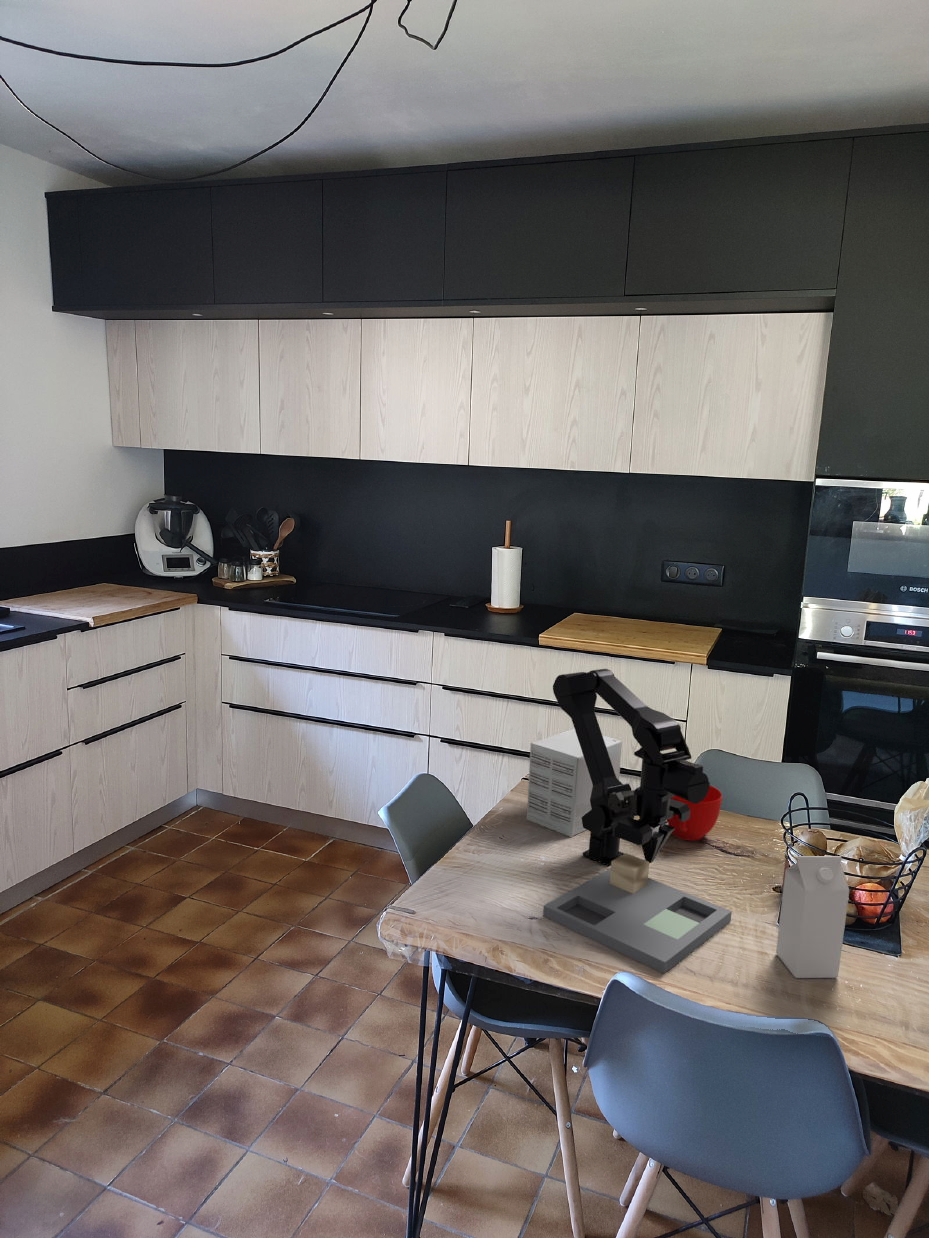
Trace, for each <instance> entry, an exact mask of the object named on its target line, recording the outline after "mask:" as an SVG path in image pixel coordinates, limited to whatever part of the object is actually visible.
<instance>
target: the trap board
mask: <svg viewBox="0 0 929 1238" xmlns="http://www.w3.org/2000/svg"><path fill="white" fill-rule="evenodd" d="M610 874H611V867H610V868H608V869H606V870H604V871H602V872H601V873H599V874H598V875H595V876H594V877H592V878H590V879H589V880H586V881H585V882H583V883H581V884H580V885H578V886H576V887H575V888H572V889H571V890H568V891H567V892H565V893H563V894H562V895H560V896H558V897H557V898H555V899H552V900H551V901H550V902H547V903H546V904H544V905H543V912H542V916H543V918H546V919H548V920H550V921H552V922H555V923H557V924H559V925H561V926H562V927H565V928H567V929H569V930H571V931H574V932H576V933H578V934H580V935H582V936H584V937H586V938H588V939H589V940H592V941H594V942H596V943H599V944H600V945H603V946H605V947H607V948H608V949H609V948H610V949H611V950H613V951H615V952H617V953H620V954H622V955H623V956H625V957H628V958H630V959H632V960H634V961H637V963H641V964H642V965H645V966H646V967H648V968H651V969H653V970H655V971H656V972H657V971H658V972H659V973H661V974H666V973H667V972H669V970H671V969H672V968H673V967H675V966H676V965H678V964H679V963H680V962H682V960H684V959H685V958H686V957H687V956H689V955H690V954H691V953H693V952H694V951H695V950H697V949H698V948H699V947H700V946H701V945H703V944H704V943H706V942H707V941H708V940H709V939H711V938H712V937H713V936H714V935H716V934H717V933H719V931H721V930H722V929H723V928H725V927H726V926H727V925H728V924H729V923H730V922H731V920H732V913H733V912H732V910H731V909H727V908H725V907H724V906H723V907H722V906H720V905H717V904H715V903H713V902H710V901H707V900H705V899H704V898H703V899H702V898H699V897H698V896H695V895H693V894H690V893H687V892H685V891H683V890H680V889H677V888H675V887H672V886H669V885H668V884H665V883H663V882H659V881H657V880H655V879H652V878H650V877H648V884H647V885H646V886H644V887H643V888H641V889H640V890H638V891H636V892H635V893H630V892H628V891H626V890H623V889H621V888H619V887H616V886H614V885H611V884H610Z"/></svg>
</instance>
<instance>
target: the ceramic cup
mask: <svg viewBox="0 0 929 1238" xmlns="http://www.w3.org/2000/svg"><path fill="white" fill-rule="evenodd" d="M670 799H673V800H676V801H679V802H682V803H686V804H687V805H688V807H689V808H690V819H688V820H686V821H684V822H681V821H680V820H679V815H676V814H675V816H673V817H672V818H670V819H668V820H667V822H668V825H670V826H672V827H674V831H672V833H671V835H673V836H674V837H675V838H678V839H681V840H685V841H689V842H690V841H694V842H695V841H700V840H702V839H703V837H706V835H707V834H708V833H709V832H710V831H711V830H712V829H713V827H715V825H716V823H717V821H718V819H719V815H720V812H721V806H722V802H723V801H722V800H723V795H722V792H721V791H720V790H719V789H718V788H716V787H715V786H712V785H710V786H709V791H708V793H707V795H706V797H705V798H704V799H703V800H702V801H701V802H699V803H697V804H694V803H691V802H689V801H687V800H685V799H683V798H680V797H678V796H676V795H675V796H674V797H672V798H670Z"/></svg>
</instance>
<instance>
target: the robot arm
mask: <svg viewBox="0 0 929 1238" xmlns="http://www.w3.org/2000/svg"><path fill="white" fill-rule="evenodd" d="M552 692H553V694H554V696H555V700H556V702H557V703H558V706H559V708H560V709H561V710H562V711H563V712H564V713H566V715H568V716H569V718H570V719H571V722H572V725H573V729H574V728H575V731H576V734H577V738H578V741H579V744H580V747H581V750H582V753H583V756H584V759H585V762H586V765H587V768H588V772H589V775H590V778H591V781H592V784H593V787H592V792H591V797H590V804H591V808H592V809H591V810H590V811H589V812H588V813H586V814H585V815H584V816H582V824H583V828H585V829H587V830H586V831H588V832H590V834H589V844H588V849H587V850H584V851H583V852H582V856H583V857H585V858H588V859H591V860H593V861H595V862H599V863H600V864H602V865H605V866H611V861H613V860H615V859H616V858H618V857H620V856H622V855H624V854H625V853H626V852H622V851H620V843H621V840H623V841H626V842H629V843H631V844H634V845H636V846H641V849H642V853H643V856H644V860H646V861H648V862H649V864H652V863H653V862H654V861H655V859H656V857H657V856H658V854H659V853H660V851H661V849H662V848H663V846H664V845H665V843H666V841H667V840H668V838H669V837H670V836H671V835H672V831H674V827H672V826H670V825H668V822H667V820H668V819H670V818H672V817H673V816H675V814H676V815H679V820H680V821H681V822H684V821H686V820H688V819H690V808H689V807H688V805H687V804H686V803H682V802H679V801H676V800H673V799H670V798H672V797H674V796H675V795H676V796H678V797H680V798H683V799H685V800H687V801H689V802H691V803H694V804H697V803H699V802H701V801H702V800H703V799H704V798H705V797H706V795H707V793H708V791H709V786H711V785H710V784H711V783H710V780H709V777H708V775H707V774H706V773H704V766H703V765H701V764H699V763H694V762H691V761H688V760H691V759H692V758H693V757H692V755H691V752H690V748H689V746H688V745H687V742H686V740H685V737H684V735H683V732H682V727H681V725H680V724H679V722H677V720H676V719H674V718H672V717H670V716H669V715H667V714H666V713H665V712H661V711H658V710H655V709H653V708H651V707H649V706H648V705H647V704H646V703H644V701H642V700H641V699H640V698H639V697H638V696H637V695H635V694H634V693H633V691H631V690H630V689H629V688H628V687H627V686H626V685H624V683H622V681H620V680H619V679H618V678H617V677H616V676H615V674H614V672H613V671H612V670H610V669H608V668H601V669H593V670H590V671H588V672H585V671H580V672H579V671H578V672H570V673H563V674H558V676H556V678H555V680H554V682H553V685H552ZM598 696H599V697H600V698H601V699H602V700H603V701H604V702H605V703H606V704H607V705H608V706H610V707H611V708H612V709H613V710H614V711H615V712H616V713H617V714H618V715H619V716H620V717H621V718H622V719H623V720H624V722H625V721H626V723H627V724H628V725H629V726H630V727H631V732H632V733H631V734H632V736H633V738H634V739H635V741H636V742H637V744H638V745H639V746H640V748H638V749H637V750H636V751H634V752H633V755H634V757H637V758H639V759H641V760H642V761H641V772H640V785H639V786H638V787H636V788H635V789H634V790H633V789H632V786H631V785H630V783H622V782H621V781H620V779H619V780H618V779H617V777H616V775H615V772H614V769H613V766H612V763H611V760H610V757H609V754H608V751H607V748H606V745H605V742H604V739H603V736H604V735H603V733H602V730H601V727H600V725H599V721H598V718H597V715H596V712H595V709H596V704H597V700H598ZM602 735H603V736H602ZM672 749H673V750H674V749H675V751H669V752H664V751H668V750H672ZM635 817H639V819H635Z"/></svg>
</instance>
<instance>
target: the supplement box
mask: <svg viewBox="0 0 929 1238" xmlns="http://www.w3.org/2000/svg"><path fill="white" fill-rule="evenodd" d="M602 736H603V739H604V742H605V745H606V748H607V751H608V754H609V757H610V760H611V763H612V766H613V769H614V772H615V775H616V777H617V779H618V780H619V781H620V772H621V758H622V746H623V741H622V740H619V739H617V738H612V737H611V736H610V737H609V736H606V735H603V734H602ZM529 750H530V751H529V752H530V753H529V766H528V767H529V771H528V772H529V773H528V787H527V808H526V809H527V811H526V820H527V821H530V822H533V823H535V824H537V825H540V826H542V827H544V826H545V828H548V829H550V830H551V831H554V830H555V831H554V832H557V833H560V834H562V835H563V836H564V835H565V836H567V837H570V838H572V837H573V836H576V835H578V834H580V833H583V832H585V831H588V830H587V829H585V828H583V824H582V816H584V815H585V814H586V813H588V812H589V811H590V810H591V809H592V808H591V804H590V797H591V792H592V787H593V784H592V781H591V778H590V775H589V772H588V768H587V765H586V762H585V759H584V756H583V753H582V750H581V747H580V744H579V741H578V738H577V734H576V731H575V728H574V727H573V728H571V729H569V730H566V731H563V732H560V733H557V734H555V735H554V734H553V735H551V736H548V737H545V738H542V739H540V740H536V741H534V742H530V749H529Z"/></svg>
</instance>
